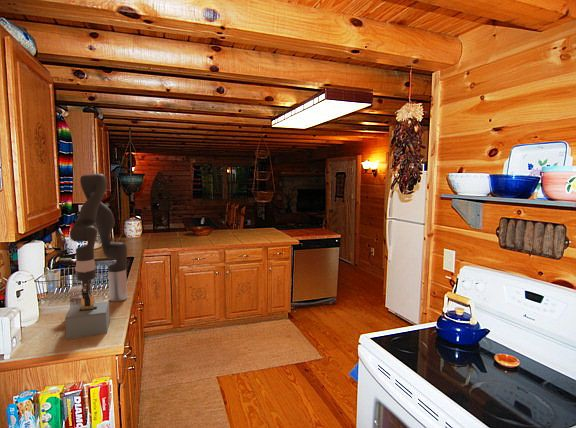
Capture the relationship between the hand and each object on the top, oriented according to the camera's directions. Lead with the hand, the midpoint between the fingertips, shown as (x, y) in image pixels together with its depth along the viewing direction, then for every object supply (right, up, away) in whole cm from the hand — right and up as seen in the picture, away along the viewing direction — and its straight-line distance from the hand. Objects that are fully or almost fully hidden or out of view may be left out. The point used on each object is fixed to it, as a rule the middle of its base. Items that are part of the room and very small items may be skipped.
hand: (88, 304), depth 161 cm
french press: (-14, -10, +16) cm, 24 cm away
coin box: (0, -12, +2) cm, 12 cm away
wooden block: (0, -2, 0) cm, 2 cm away
